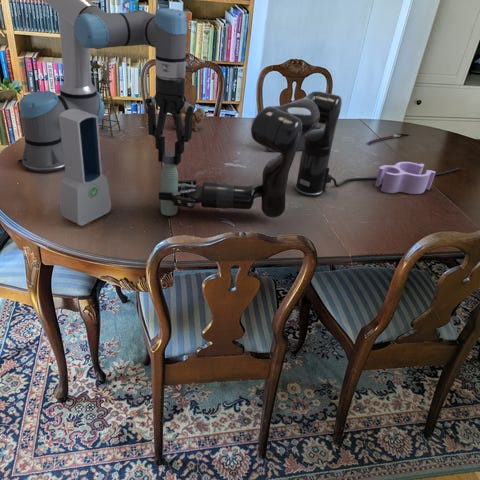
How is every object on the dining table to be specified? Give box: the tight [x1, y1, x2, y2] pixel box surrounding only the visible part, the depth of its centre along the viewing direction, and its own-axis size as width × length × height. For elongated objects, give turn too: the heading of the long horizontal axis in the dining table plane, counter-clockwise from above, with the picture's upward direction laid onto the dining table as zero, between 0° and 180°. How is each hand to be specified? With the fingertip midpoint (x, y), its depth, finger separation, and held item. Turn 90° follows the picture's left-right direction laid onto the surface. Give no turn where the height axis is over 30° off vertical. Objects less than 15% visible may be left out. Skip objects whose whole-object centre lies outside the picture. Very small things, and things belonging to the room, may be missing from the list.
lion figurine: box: [170, 107, 206, 132], centre depth 198 cm, size 15×5×9 cm, turn 110°
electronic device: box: [59, 109, 112, 227], centre depth 126 cm, size 12×8×30 cm, turn 148°
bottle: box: [160, 163, 179, 217], centre depth 135 cm, size 5×5×18 cm
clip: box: [374, 161, 436, 195], centre depth 169 cm, size 20×12×7 cm, turn 109°
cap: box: [161, 150, 175, 165], centre depth 131 cm, size 4×4×2 cm
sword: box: [367, 133, 409, 145], centre depth 213 cm, size 31×3×1 cm, turn 126°
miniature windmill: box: [91, 55, 122, 138], centre depth 181 cm, size 9×8×30 cm
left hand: (169, 161), depth 131 cm, fingers closed on cap, 4 cm apart
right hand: (160, 191), depth 136 cm, fingers closed on bottle, 5 cm apart
